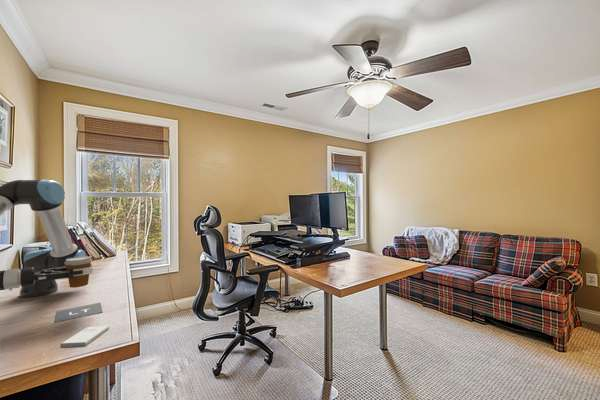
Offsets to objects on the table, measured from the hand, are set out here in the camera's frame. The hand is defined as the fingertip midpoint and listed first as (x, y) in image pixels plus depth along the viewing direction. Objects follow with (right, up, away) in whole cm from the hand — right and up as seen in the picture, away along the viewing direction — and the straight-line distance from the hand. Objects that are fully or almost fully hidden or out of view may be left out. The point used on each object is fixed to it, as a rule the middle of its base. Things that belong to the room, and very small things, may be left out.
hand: (92, 268), depth 124 cm
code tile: (-4, -19, -3) cm, 19 cm away
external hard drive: (+18, -19, -26) cm, 36 cm away
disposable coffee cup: (-4, -7, -3) cm, 8 cm away
